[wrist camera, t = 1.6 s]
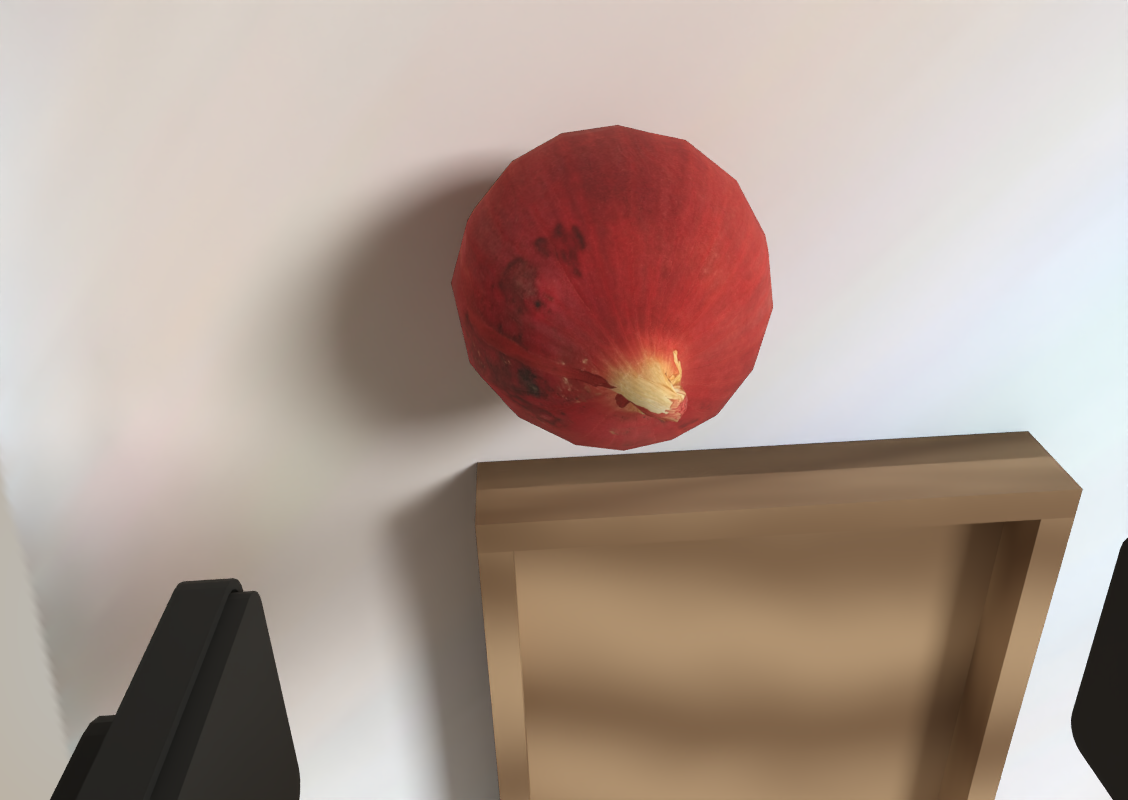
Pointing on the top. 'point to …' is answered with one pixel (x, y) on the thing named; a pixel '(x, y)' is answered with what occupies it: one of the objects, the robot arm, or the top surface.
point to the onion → (613, 287)
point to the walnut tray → (767, 617)
